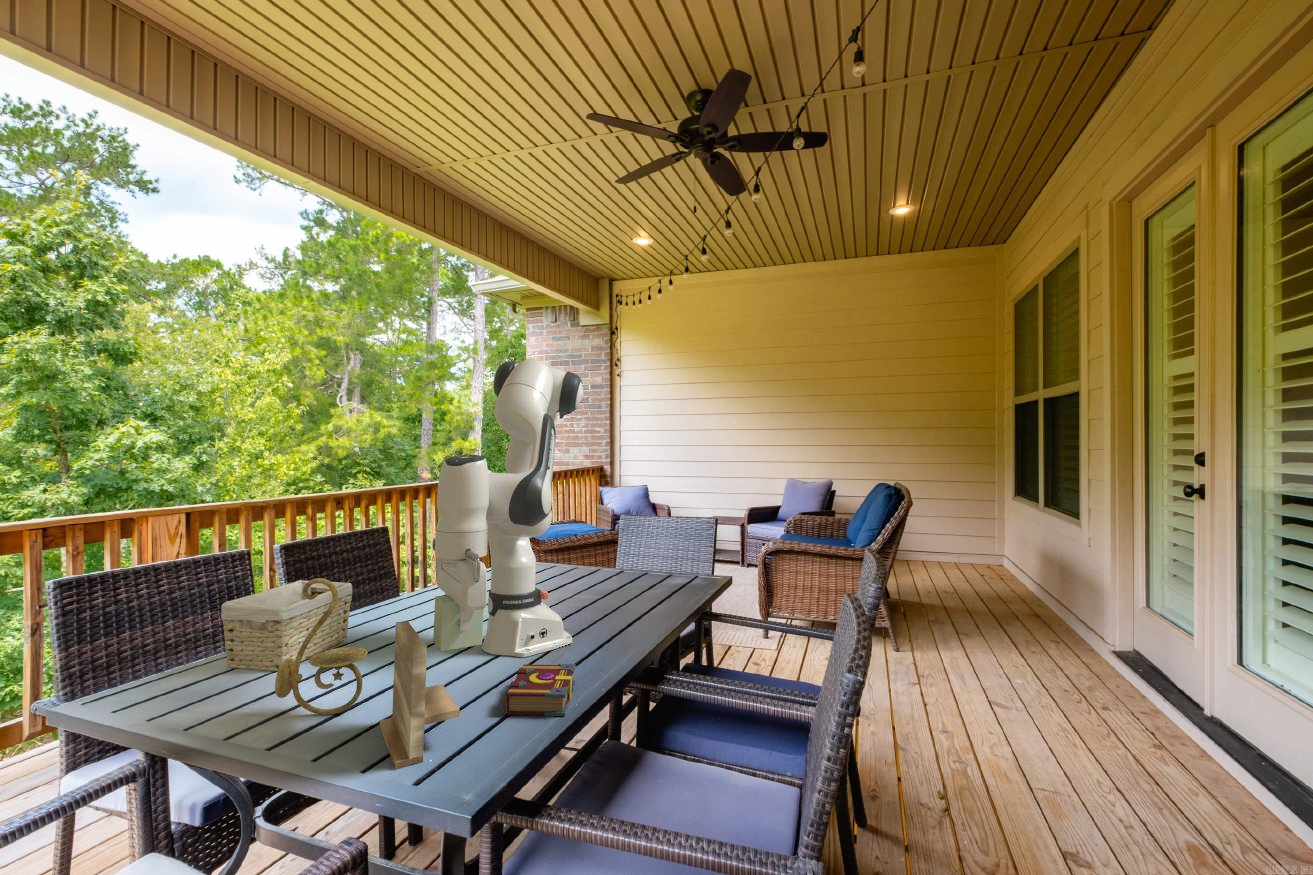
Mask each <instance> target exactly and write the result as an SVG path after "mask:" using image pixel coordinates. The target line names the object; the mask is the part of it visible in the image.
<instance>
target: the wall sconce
mask: <svg viewBox="0 0 1313 875" xmlns="http://www.w3.org/2000/svg"><path fill="white" fill-rule="evenodd" d="M308 581H309V582H307V583H306V584H305V586H304V587H303V590H302V593H303V596H304V597H305V598H306V599H309V600H312V599H315V598H316V597H317V596H318V595H319V592H314V594H311V595H310V594H309V593H308V588H309V587H310V586H311V585H313V584H316V583H321V584H324V585H326V586H328V587H329V588H330V590H331V592H332V603H331V605H330V607H329V608H328V610H327V611H326V613H325V614H324V615H323V616H322V618H321V619H320V620H319V621H318V622H317V624H316V625H315V626H314V627H313V629H312V630H311V631H310V633H309V634H308V635H307V637H306V638H305V640H304V642H303V644H302V646H301V648H300V650H299V652H298V654H297V657H296V660H295V661H294V659H291V658H288V659H286V660H284V661H283V663H282V664H281V666H280V667H279V670H278V671H276V676H275V679H274V680H275V681H274V682H275V683H274V692H275V695H276V697H277V698H278V699H283V698H286V697H287V696H288V695H289V694H290V693H291V692H292V693H293V697H294V700H295V701H296V702H297V704H298V705H300V707H301V708H303V709H304V710H306V711H308V712H310V713H313V714H316V715H322V716H324V715H325V716H326V715H334V714H339V713H342V712H344V711H346V710H348V709H349V708H351V707H352V706H353V705H354V704H355V703H356V702H357V701H358V700H359V698H360V695H361V694H362V690H363V677H362V673H361V671H360V669H359V668H358V667H357V666H356V665H355V663H357V662H359V661H361V660H363V659H364V658H366V657H367V655H368V651H367V650H366V648H361V647H354V646H352V647H351V646H350V647H347V646H346V647H337V648H332V649H326V650H324V651H322V652H320V653H317V654H315V655H313V656H311V657H310V658H308V663H309V664H310V665H311V666H313V667H316V668H317V667H318V669H317V670H316V672H315V674H314V683H315V685H316V686H317V688H318V689H322V690H328V689H332V688H333V687H334V686H335V684H334V683H331V682H330V683H323V681H322V680H321V676H322V674H323V672H325V671H326V670H328V669H334V670H336V672H335V673H331V674H332V676H333V681H334V682H335V681H343V679H342V677H343V676H344V675H345V673H343V672H340V670H341V669H343V668H347V669H349V670H350V671H352V673H353V675H354V677H355V679H356V689H355V690H356V691H355V693H354V695H353V696H352V698H351V699H350V700H349V701H348V702H347V703H345V704H343V705H341V706H338V707H334V708H333V707H332V708H319V707H316V706H313V705H312V704H310V703H308V702H307V701H306V700H305V699H304V698H303V697H302V695H301V693H300V688H299V682H300V681H301V680H302V679H303V674H302V673H299V672H300V667H301V663H302V662H301V660H302V657H303V654H304V652H305V650H306V648H307V646H308V644H309V642H310V641H311V639H312V638H313V636H314V635H315V633H316V632H317V631H318V630H319V628H320V627H321V626H322V625H323V623H324V622H325V621H326V620H327V619H328V617H329V616H330V615H331V613H332V612H333V610H334V609H335V607H336V604H337V601H338V592H337V589H336V587H335V586H334V584H333V583H332V582H333V581H331V580H328V579H326V578H323V577H322V578H321V577H320V578H313V579H311V580H308Z"/></svg>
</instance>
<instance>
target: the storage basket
mask: <svg viewBox="0 0 1313 875" xmlns="http://www.w3.org/2000/svg"><path fill="white" fill-rule="evenodd" d="M309 581H310V580H302V579H301V580H296V581H294V582H290V583H286V584H282V585H278V586H276V587H274V588H270V589H267V590H263V591H261V592H256V593H253V594H249V595H246V596H242V597H240V598H235V599H233V600H229V601H225V602H223V603H222V604H221V608H220V609H221V614H220V617H221V620H222V625H223V626H222V627H223V631H224V632H223V635H224V637H223V638H224V642H225V643H224V646H225V647H224V648H225V653H226V665H227V666H228V667H229V668H232V669H240V670H241V669H242V670H246V669H248V670H253V671H254V670H255V671H269V672H278V670H279V667H280V666H281V664H282V663H283V661H284V660H286V659H288V658H291V659H294V661H295V660H296V657H297V654H298V652H299V650H300V648H301V646H302V644H303V642H304V640H305V638H306V637H307V635H308V634H309V633H310V631H311V630H312V629H313V627H314V626H315V625H316V624H317V622H318V621H319V620H320V619H321V618H322V616H323V615H324V614H325V613H326V611H327V610H328V608H329V607H330V605H331V603H332V592H331V590H330V588H329V587H328V586H326V585H324V584H321V583H316V584H313V585H311V586H310V587H309V588H308V593H309V594H310V595H312V593H313V592H314V593H316V592H317V593H320V594H318V596H317V597H316V598H315V599H312V600H309V599H306V598H305V597H304V596H303V593H302V590H303V587H304V586H305V584H306V583H307V582H309ZM331 582H332V583H333V584H334V586H335V587H336V589H337V592H338V601H337V604H336V607H335V609H334V610H333V612H332V613H331V615H330V616H329V617H328V619H327V620H326V621H325V622H324V623H323V625H322V626H321V627H320V628H319V630H318V631H317V632H316V633H315V635H314V636H313V638H312V639H311V641H310V642H309V644H308V646H307V648H306V650H305V652H304V654H303V657H302V660H301V663H302V662H304V661H306V660H309V659H310V657H312V656H313V655H315V654H317V653H320V652H323V651H327V650H329V648H331V647H333V646H335V645H338V644H340V643H341V642H344V641H345V640H347V638H348V631H349V630H348V628H349V620H350V619H349V618H350V614H351V613H350V608H351V603H352V600H353V599H352V597H353V585H352V583H350V582H341V581H340V582H339V581H338V582H337V581H331Z"/></svg>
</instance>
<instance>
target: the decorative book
mask: <svg viewBox="0 0 1313 875" xmlns="http://www.w3.org/2000/svg"><path fill="white" fill-rule="evenodd" d="M575 669H576V663H575V664H574V663H558V664H525V663H524V664H523V665H522V667H520V668H518V670H517V671H516V672H517V673H516V677H515V679H514V680H513V681H511V682H510V683H509V685H508V691H507V693H506V702H505V703H506V708H505V710H506V711H505V715H506V716H507V715H508V716H509V715H512V716H513V715H515V716H516V715H517V716H518V715H519V716H524V715H526V716H544V717H554V716H565V717H566V714H565V713H567V711H568V704H569V702H570V701H571V700H570V699H572V692H573V691H574V688H575V685H576V680H573V676H574V672H575ZM572 690H573V691H572ZM569 700H570V701H569Z"/></svg>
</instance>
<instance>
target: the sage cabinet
mask: <svg viewBox="0 0 1313 875" xmlns="http://www.w3.org/2000/svg"><path fill="white" fill-rule="evenodd" d="M484 609H485V608H484ZM484 609H481V610H474V613H473V616H472V619H471V628H470V629H469V630H464V631H462V630H460V628H459V627H458V624H459V623H458V620H459V618H460V612H461V611H460V606H459V605H458V604H457V603H456V602H454V601H453V600H452V599H451V598H450V597H449V596H448V595H446V594H445V595H437V596H434V617H433V618H434V620H433V640H432V641H433V643H434V645H435V646H436V647H437V648H438V650H439V651H440V652H444V651H450V650H451V651H452V650H456V649H462V648H468V647H474V646H479V645H481V646H482V645H483V640H484V638H483V637H484V617H485V616H484V612H485V610H484Z"/></svg>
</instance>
